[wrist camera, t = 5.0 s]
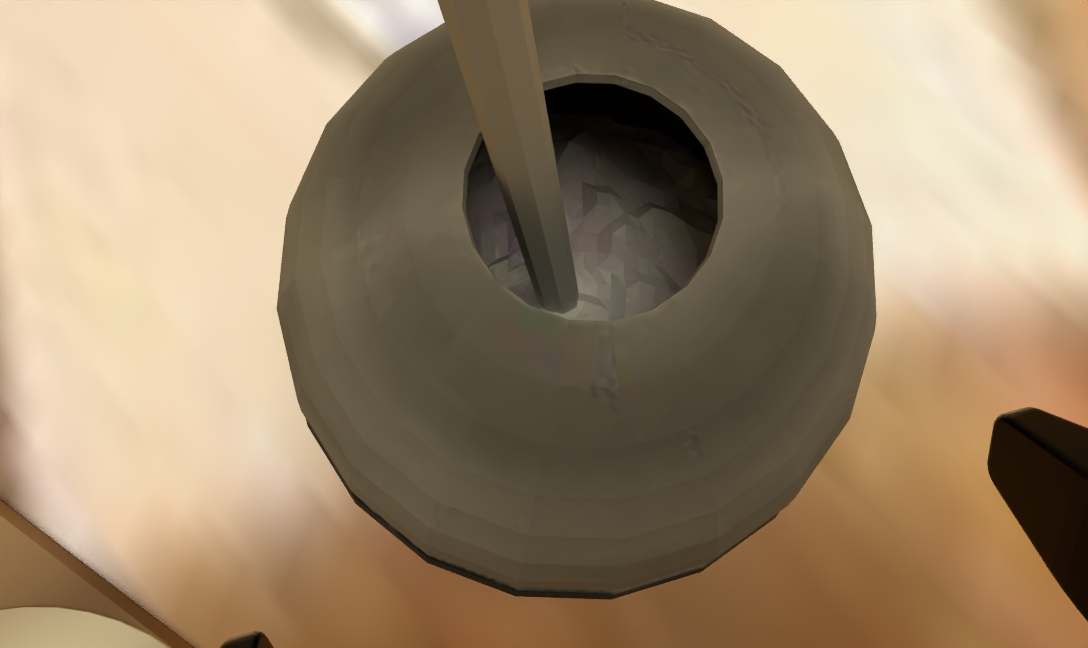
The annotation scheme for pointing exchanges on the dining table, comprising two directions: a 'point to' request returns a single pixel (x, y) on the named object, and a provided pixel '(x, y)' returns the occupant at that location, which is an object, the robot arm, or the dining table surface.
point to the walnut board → (64, 598)
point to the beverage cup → (576, 294)
